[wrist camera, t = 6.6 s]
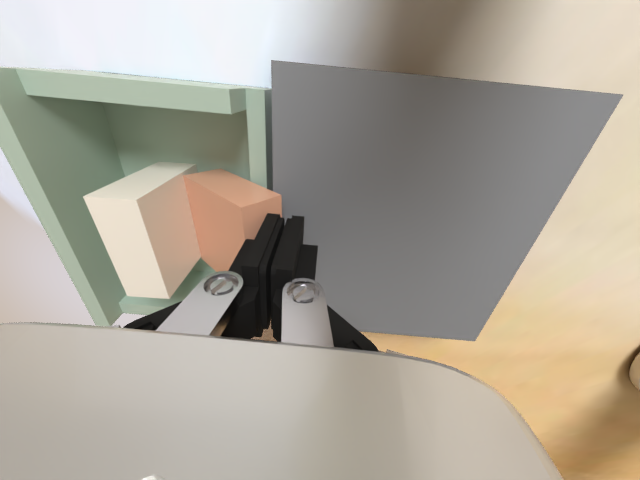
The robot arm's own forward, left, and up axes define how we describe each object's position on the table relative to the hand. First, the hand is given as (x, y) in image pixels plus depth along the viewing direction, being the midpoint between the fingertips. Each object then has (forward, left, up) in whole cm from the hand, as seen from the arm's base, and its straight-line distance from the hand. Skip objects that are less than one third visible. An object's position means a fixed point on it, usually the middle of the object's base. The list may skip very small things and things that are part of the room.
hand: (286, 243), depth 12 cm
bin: (+6, 0, -4) cm, 7 cm away
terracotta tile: (+2, 0, -2) cm, 3 cm away
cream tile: (+5, 0, -1) cm, 5 cm away
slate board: (-6, 0, -4) cm, 7 cm away
